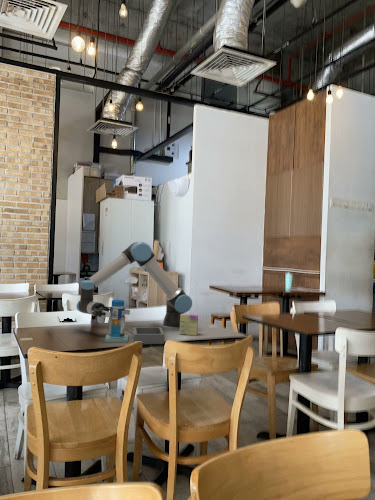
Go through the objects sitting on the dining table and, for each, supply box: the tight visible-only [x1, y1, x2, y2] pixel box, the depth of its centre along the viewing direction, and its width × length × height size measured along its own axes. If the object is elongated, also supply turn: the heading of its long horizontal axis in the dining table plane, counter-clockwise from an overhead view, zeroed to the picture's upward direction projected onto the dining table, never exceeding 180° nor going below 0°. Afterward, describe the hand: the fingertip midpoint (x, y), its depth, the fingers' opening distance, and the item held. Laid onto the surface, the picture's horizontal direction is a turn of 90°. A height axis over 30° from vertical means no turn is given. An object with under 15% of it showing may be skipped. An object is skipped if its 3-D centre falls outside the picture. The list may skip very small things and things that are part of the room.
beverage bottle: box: [108, 299, 126, 338], centre depth 220 cm, size 8×8×20 cm
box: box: [179, 313, 199, 336], centre depth 241 cm, size 10×6×12 cm, turn 84°
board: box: [104, 334, 129, 343], centre depth 220 cm, size 12×12×2 cm
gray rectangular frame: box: [132, 326, 165, 345], centre depth 222 cm, size 16×20×5 cm
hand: (120, 313), depth 218 cm, fingers open, 13 cm apart
